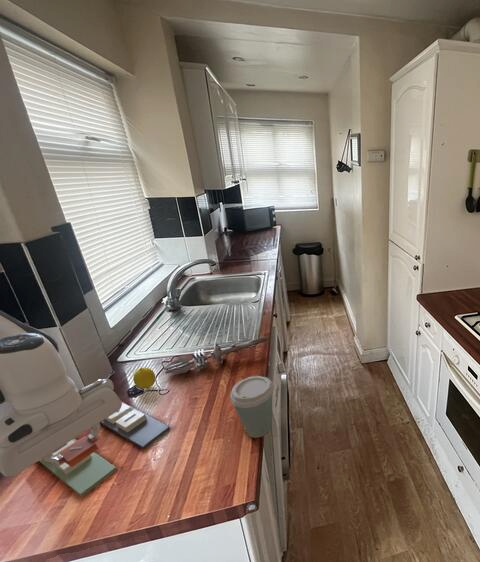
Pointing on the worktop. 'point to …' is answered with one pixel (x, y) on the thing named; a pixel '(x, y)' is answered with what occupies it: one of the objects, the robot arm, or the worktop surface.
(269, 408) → the disposable coffee cup
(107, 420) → the strip
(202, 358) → the spaceship
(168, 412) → the worktop surface
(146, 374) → the lemon
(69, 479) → the green word strip
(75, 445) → the brown flat square block
